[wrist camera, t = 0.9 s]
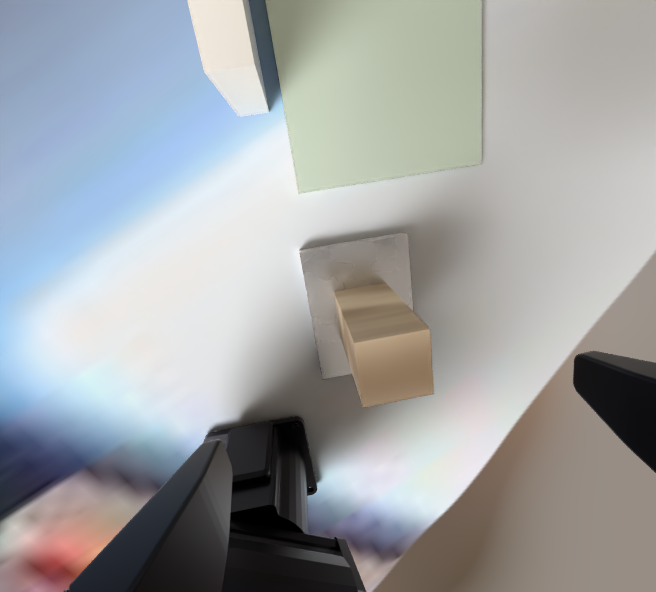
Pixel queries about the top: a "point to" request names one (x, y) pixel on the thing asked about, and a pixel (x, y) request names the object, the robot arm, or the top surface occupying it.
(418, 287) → the top surface
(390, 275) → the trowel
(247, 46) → the tile
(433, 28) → the mat
